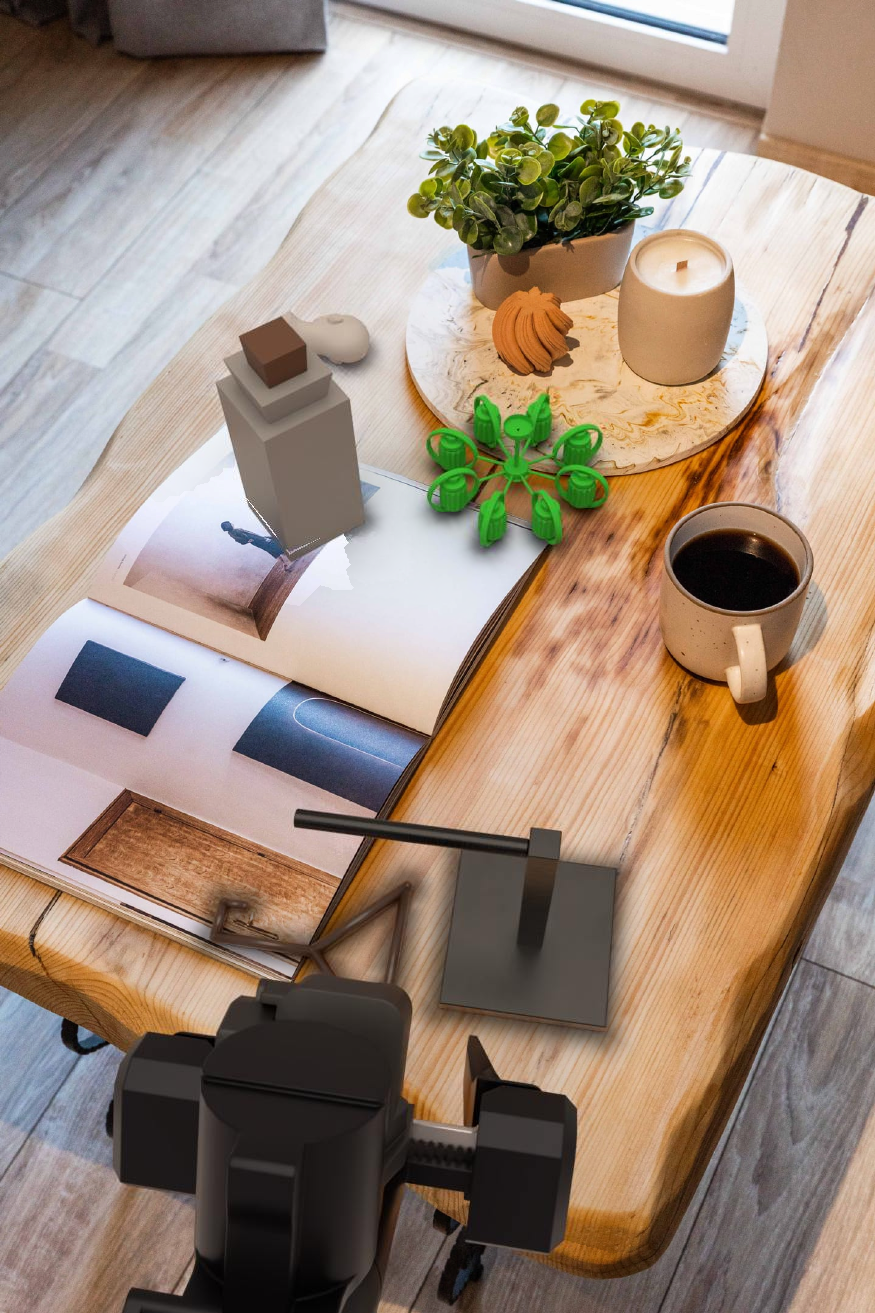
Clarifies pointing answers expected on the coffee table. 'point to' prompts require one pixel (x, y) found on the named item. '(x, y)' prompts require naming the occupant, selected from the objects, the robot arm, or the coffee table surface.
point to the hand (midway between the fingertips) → (377, 1029)
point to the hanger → (329, 940)
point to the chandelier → (516, 468)
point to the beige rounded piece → (333, 336)
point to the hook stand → (514, 922)
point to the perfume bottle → (292, 439)
